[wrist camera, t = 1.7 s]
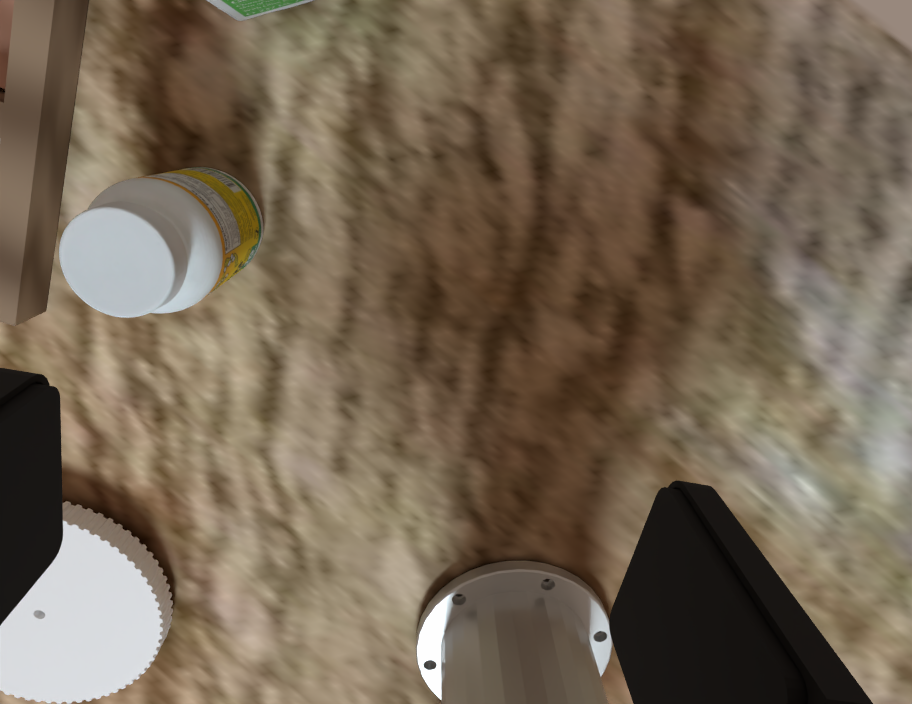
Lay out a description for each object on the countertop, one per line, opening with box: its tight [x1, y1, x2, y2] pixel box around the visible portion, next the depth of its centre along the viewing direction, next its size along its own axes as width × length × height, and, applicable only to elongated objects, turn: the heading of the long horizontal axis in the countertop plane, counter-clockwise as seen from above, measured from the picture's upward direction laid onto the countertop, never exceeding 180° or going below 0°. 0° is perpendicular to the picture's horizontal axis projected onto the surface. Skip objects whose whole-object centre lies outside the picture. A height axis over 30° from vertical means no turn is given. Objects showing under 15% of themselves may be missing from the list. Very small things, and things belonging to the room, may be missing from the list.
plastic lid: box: [0, 501, 173, 704], centre depth 37 cm, size 14×14×2 cm
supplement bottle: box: [59, 167, 263, 317], centre depth 26 cm, size 5×5×10 cm
